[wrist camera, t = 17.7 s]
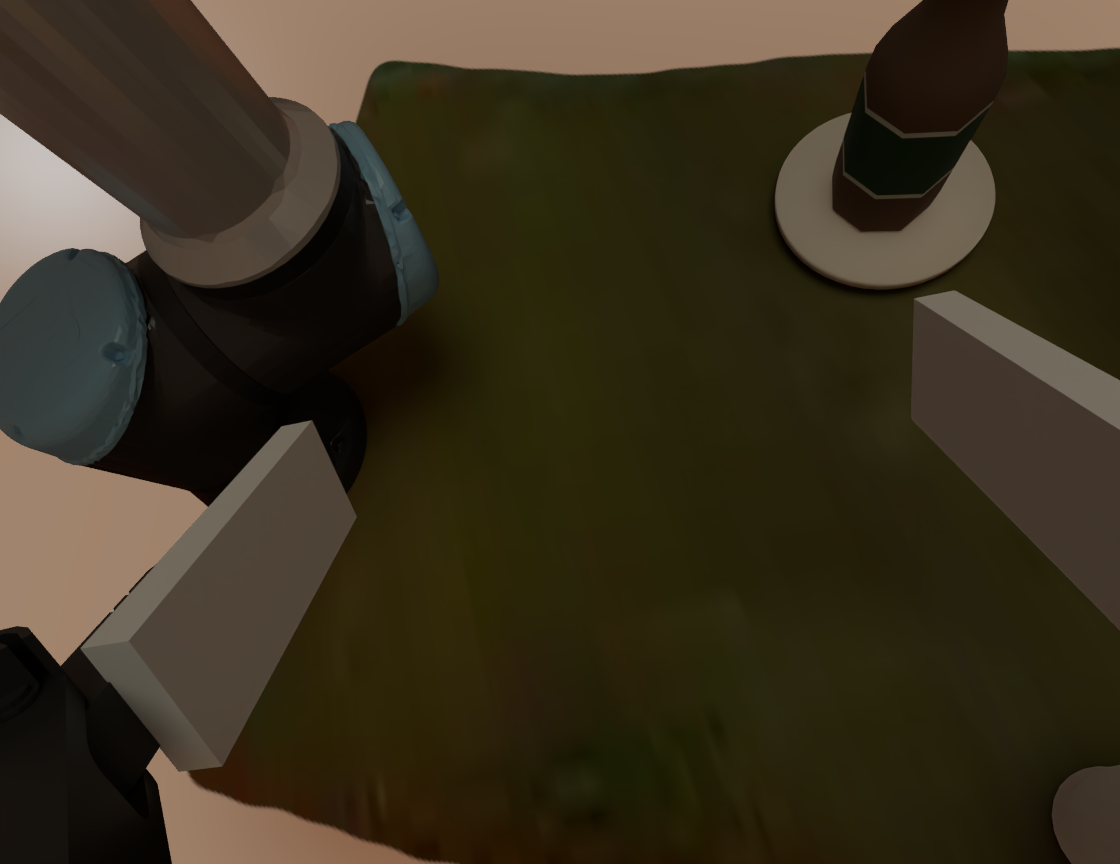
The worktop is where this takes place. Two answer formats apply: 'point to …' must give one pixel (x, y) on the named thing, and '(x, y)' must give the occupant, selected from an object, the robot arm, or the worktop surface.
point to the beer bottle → (918, 110)
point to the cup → (1089, 816)
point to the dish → (878, 254)
